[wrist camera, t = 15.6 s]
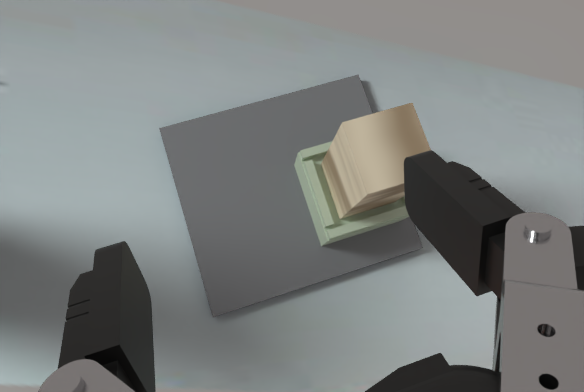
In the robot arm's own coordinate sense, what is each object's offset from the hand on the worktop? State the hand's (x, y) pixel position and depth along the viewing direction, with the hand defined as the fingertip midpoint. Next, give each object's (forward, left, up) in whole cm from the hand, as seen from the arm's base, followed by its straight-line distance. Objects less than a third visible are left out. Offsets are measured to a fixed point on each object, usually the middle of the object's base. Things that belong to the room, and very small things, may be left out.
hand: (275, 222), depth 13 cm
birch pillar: (+10, +5, -26) cm, 28 cm away
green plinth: (+10, +5, -30) cm, 32 cm away
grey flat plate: (+5, +7, -31) cm, 32 cm away
